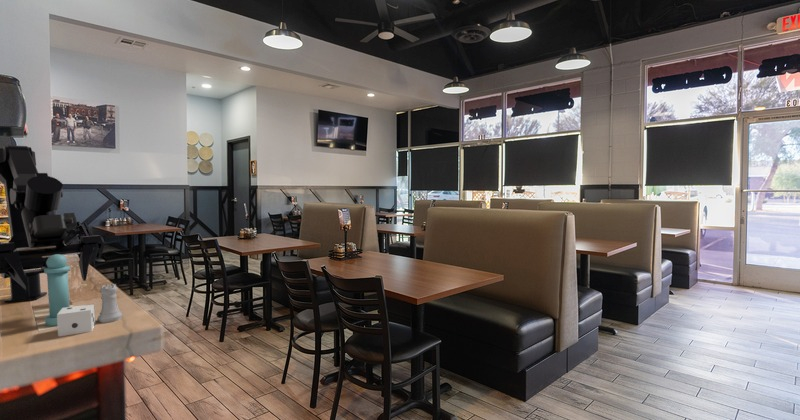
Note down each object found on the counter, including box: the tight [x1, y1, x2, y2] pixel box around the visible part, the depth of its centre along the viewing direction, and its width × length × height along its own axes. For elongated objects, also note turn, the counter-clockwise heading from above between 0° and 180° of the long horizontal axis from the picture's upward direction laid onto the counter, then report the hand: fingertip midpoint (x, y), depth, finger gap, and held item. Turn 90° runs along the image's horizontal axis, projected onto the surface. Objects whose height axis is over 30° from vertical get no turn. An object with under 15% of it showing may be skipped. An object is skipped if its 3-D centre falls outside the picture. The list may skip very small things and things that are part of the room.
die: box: [57, 303, 96, 338], centre depth 80 cm, size 5×5×5 cm
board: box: [31, 299, 75, 332], centre depth 91 cm, size 24×7×1 cm, turn 44°
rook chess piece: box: [97, 283, 124, 324], centre depth 85 cm, size 4×4×8 cm
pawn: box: [43, 254, 71, 327], centre depth 84 cm, size 5×5×14 cm
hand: (57, 283), depth 84 cm, fingers open, 9 cm apart
